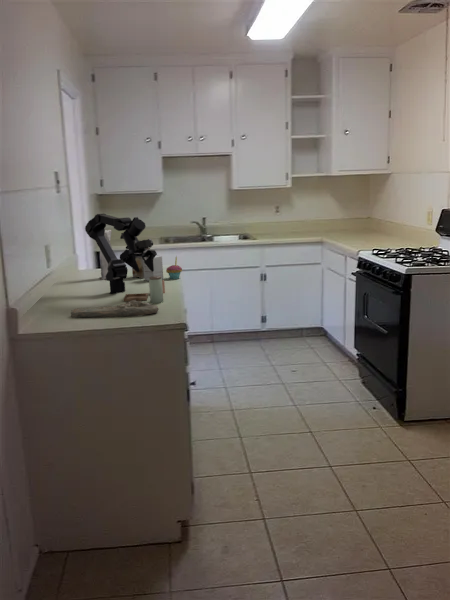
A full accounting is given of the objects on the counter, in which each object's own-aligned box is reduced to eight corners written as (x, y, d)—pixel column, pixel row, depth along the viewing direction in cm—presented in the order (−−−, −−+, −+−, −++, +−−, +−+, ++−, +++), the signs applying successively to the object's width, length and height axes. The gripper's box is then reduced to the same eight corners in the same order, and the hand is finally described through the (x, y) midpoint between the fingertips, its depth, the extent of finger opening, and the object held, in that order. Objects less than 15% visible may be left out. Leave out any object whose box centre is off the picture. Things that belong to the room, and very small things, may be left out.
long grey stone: (74, 317, 234) (69, 324, 225) (72, 304, 233) (67, 311, 223) (159, 309, 235) (157, 316, 225) (158, 296, 233) (156, 303, 224)
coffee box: (132, 277, 314) (130, 248, 311) (139, 275, 319) (137, 247, 316) (144, 278, 309) (142, 249, 306) (152, 276, 315) (150, 247, 311)
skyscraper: (98, 277, 316) (94, 227, 310) (113, 276, 319) (109, 226, 314) (101, 280, 309) (97, 228, 303) (116, 278, 312) (112, 227, 306)
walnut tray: (123, 302, 250) (123, 298, 250) (126, 298, 260) (125, 294, 260) (146, 301, 251) (146, 297, 251) (148, 297, 261) (147, 293, 260)
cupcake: (175, 276, 313) (174, 254, 310) (185, 277, 307) (184, 255, 304) (163, 278, 307) (162, 256, 304) (173, 280, 301) (172, 257, 298)
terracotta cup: (151, 295, 264) (151, 282, 263) (152, 292, 270) (151, 280, 269) (164, 294, 265) (164, 281, 263) (165, 292, 270) (164, 279, 269)
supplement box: (154, 278, 309) (152, 255, 307) (163, 279, 305) (162, 255, 302) (144, 280, 304) (142, 256, 301) (153, 281, 299) (152, 257, 296)
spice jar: (150, 303, 247) (148, 278, 244) (150, 301, 252) (149, 276, 250) (163, 303, 247) (161, 277, 245) (163, 300, 252) (162, 275, 250)
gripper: (128, 231, 246) (142, 262, 242) (157, 232, 261) (171, 261, 258) (113, 245, 252) (126, 275, 248) (142, 246, 267) (155, 274, 264)
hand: (146, 271), depth 254 cm, fingers open, 9 cm apart
